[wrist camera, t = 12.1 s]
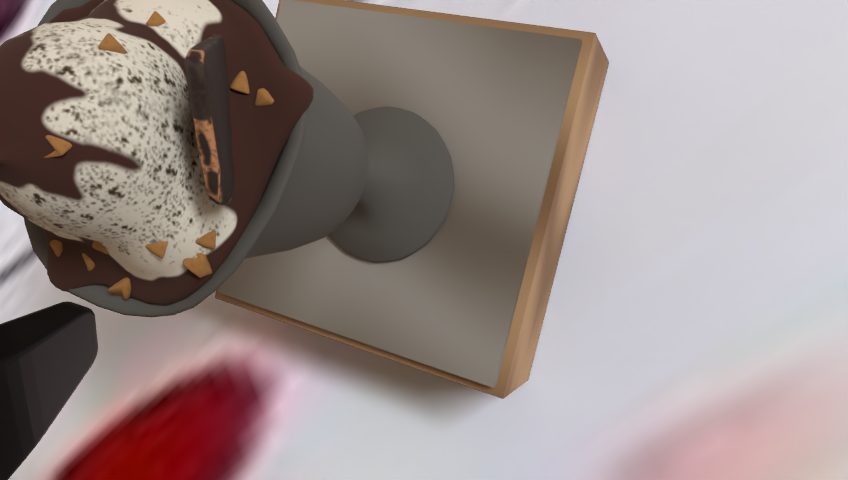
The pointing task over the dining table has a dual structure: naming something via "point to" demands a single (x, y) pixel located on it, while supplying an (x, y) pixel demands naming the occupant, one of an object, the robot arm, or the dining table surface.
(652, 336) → the dining table surface
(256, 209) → the sundae
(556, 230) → the block
